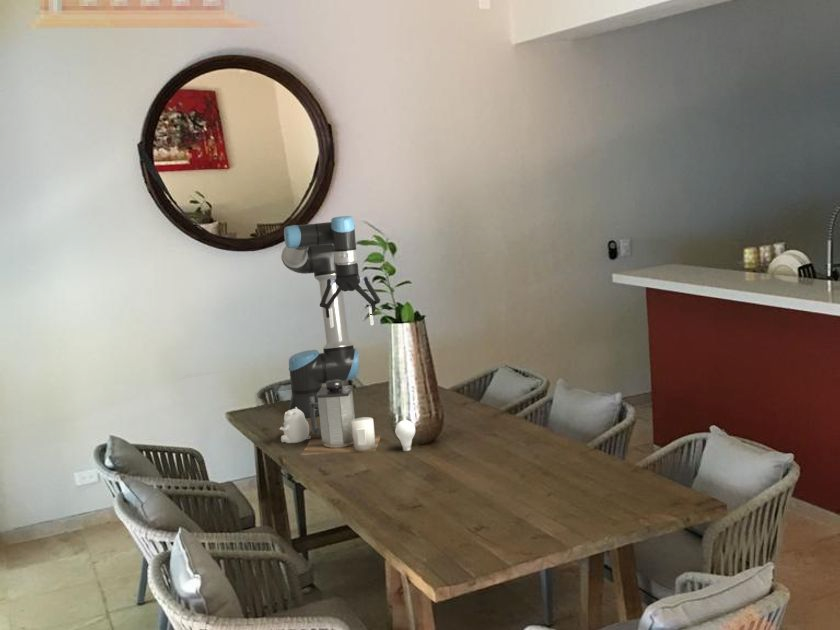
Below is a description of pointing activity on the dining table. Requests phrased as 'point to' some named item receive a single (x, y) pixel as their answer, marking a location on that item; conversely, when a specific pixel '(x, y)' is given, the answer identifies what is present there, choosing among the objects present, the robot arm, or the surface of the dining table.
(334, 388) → the plunger
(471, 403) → the dining table surface
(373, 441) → the mug
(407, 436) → the lightbulb
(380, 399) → the dining table surface
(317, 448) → the board
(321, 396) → the carafe
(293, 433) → the figurine
